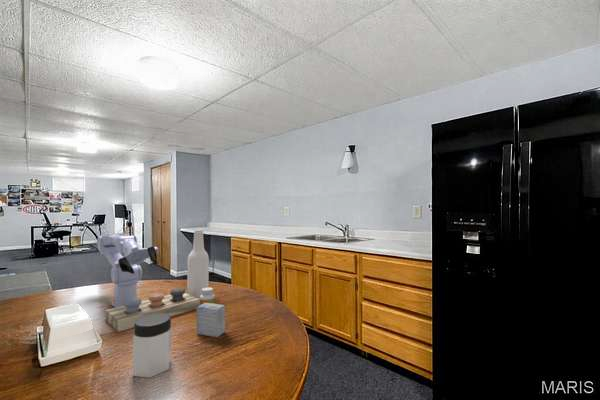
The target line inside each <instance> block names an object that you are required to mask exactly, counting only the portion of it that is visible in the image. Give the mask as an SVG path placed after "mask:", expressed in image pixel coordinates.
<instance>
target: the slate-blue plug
mask: <svg viewBox="0 0 600 400" xmlns="http://www.w3.org/2000/svg"><path fill="white" fill-rule="evenodd" d="M141 302H142V298H138V297H137V298H136V299H129V300H126V301H125V302H124V306H125V307H126V314H127V315H128V314H132V313H136V312H139V305H140V304H141Z"/></svg>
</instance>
